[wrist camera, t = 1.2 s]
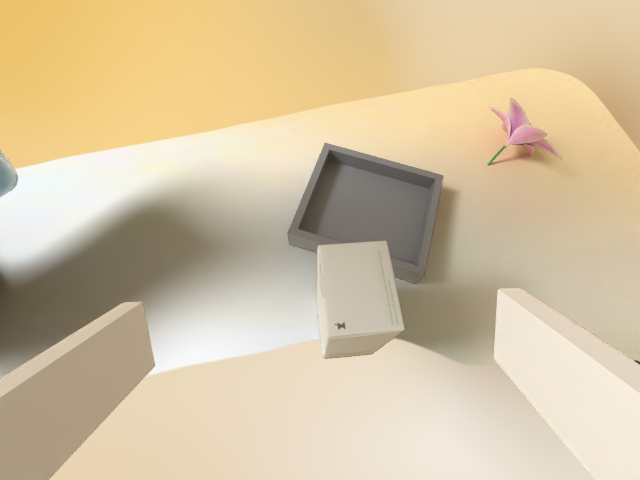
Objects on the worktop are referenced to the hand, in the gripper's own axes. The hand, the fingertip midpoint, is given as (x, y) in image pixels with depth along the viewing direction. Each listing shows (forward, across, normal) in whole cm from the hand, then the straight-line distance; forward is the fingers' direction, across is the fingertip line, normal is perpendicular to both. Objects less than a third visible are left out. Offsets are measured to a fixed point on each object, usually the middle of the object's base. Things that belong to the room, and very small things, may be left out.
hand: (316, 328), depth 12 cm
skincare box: (+26, +1, -13) cm, 29 cm away
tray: (+36, +5, -1) cm, 36 cm away
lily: (+46, +29, +7) cm, 54 cm away
